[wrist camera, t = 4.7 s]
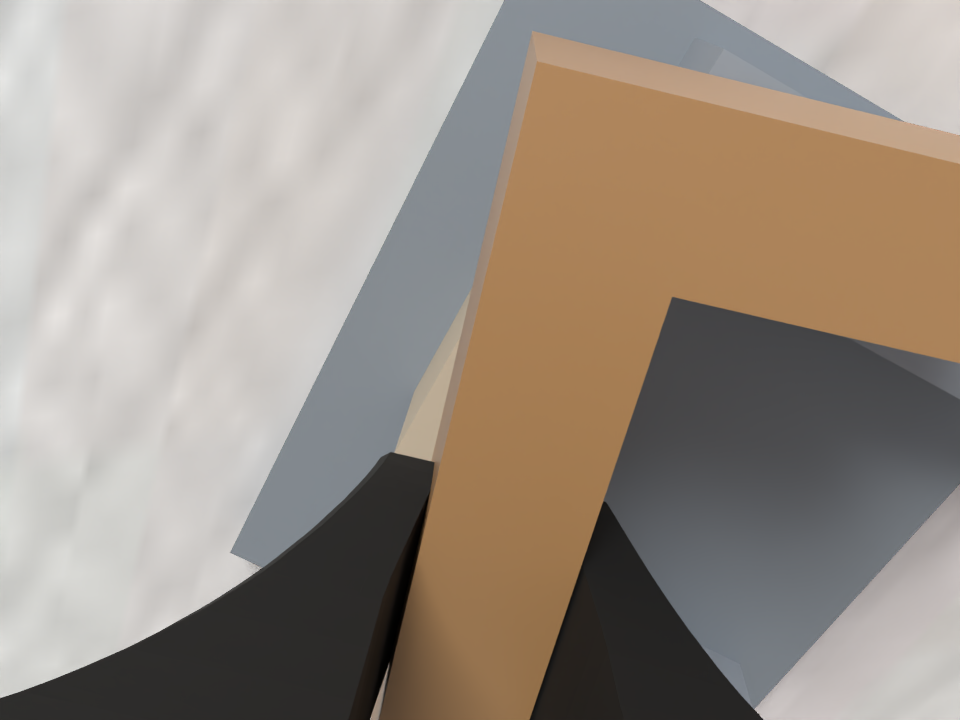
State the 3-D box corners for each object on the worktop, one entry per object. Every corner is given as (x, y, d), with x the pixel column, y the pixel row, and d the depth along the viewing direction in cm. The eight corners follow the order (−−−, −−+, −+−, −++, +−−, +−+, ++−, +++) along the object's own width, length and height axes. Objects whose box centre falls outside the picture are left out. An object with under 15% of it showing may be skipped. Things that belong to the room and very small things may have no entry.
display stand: (1119, 253, 16) (1263, 322, 13) (693, 734, 21) (718, 868, 18) (548, -86, 14) (549, -104, 11) (244, 526, 20) (186, 631, 17)
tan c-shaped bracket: (1053, 157, 11) (1326, 254, 7) (726, 816, 16) (789, 1073, 12) (531, 30, 10) (536, 60, 7) (364, 743, 15) (314, 985, 12)
